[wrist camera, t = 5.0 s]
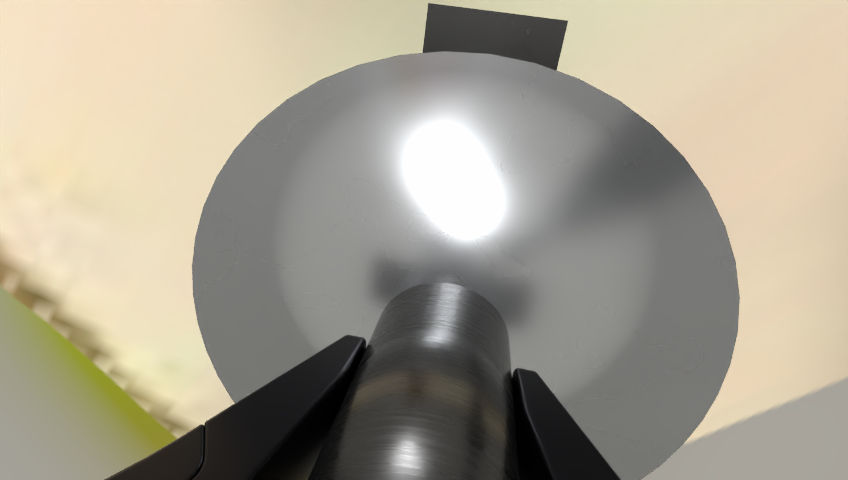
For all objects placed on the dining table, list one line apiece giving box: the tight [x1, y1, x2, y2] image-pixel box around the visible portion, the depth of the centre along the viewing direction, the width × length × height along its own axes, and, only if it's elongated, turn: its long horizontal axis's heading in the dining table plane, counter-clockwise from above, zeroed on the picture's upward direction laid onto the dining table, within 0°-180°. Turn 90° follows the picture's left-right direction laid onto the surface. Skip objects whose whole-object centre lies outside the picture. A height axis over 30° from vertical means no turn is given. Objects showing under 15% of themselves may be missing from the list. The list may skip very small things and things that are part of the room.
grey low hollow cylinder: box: [423, 3, 568, 70], centre depth 13 cm, size 11×14×5 cm
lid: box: [192, 51, 740, 480], centre depth 8 cm, size 12×12×6 cm
